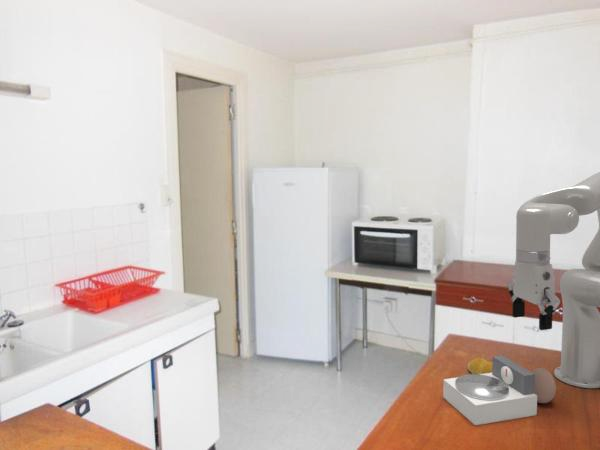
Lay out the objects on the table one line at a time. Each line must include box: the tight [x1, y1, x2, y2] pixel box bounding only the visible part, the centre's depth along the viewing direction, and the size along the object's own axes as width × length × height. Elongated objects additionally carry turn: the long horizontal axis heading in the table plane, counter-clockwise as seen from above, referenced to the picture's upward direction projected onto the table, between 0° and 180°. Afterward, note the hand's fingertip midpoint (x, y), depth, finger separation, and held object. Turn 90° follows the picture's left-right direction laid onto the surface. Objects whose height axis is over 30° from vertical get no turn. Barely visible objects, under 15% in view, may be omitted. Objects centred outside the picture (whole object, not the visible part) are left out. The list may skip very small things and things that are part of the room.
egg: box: [531, 367, 557, 404], centre depth 116 cm, size 7×7×9 cm
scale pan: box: [455, 373, 509, 401], centre depth 115 cm, size 13×13×1 cm
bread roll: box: [467, 357, 493, 374], centre depth 134 cm, size 8×9×4 cm
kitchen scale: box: [442, 355, 538, 426], centre depth 115 cm, size 17×14×10 cm
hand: (531, 322), depth 115 cm, fingers open, 9 cm apart
